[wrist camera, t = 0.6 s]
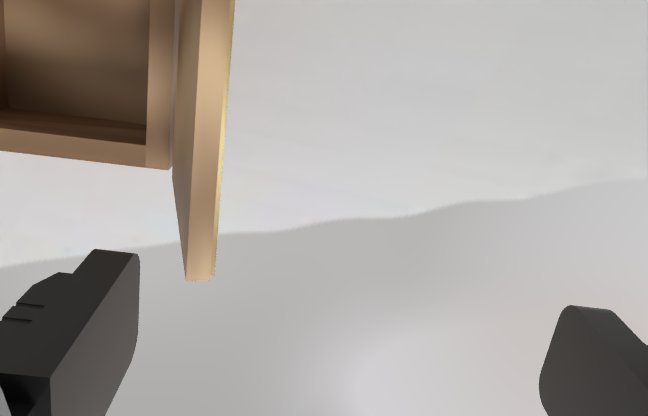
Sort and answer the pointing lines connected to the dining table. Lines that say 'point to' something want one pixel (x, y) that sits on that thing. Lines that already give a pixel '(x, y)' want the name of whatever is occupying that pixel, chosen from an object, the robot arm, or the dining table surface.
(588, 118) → the dining table surface
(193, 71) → the lid
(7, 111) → the box
